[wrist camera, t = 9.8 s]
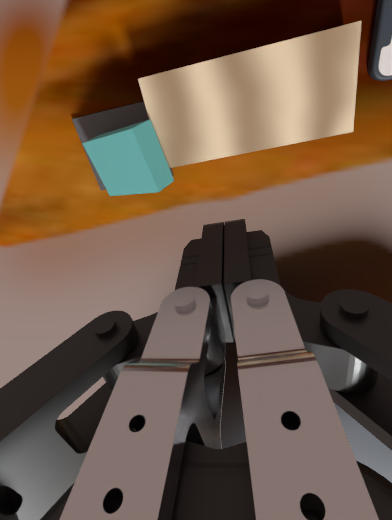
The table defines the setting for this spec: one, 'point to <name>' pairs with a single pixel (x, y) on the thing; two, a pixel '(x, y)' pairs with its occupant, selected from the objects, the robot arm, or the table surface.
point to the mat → (109, 125)
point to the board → (256, 97)
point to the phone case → (381, 43)
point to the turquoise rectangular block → (130, 160)
